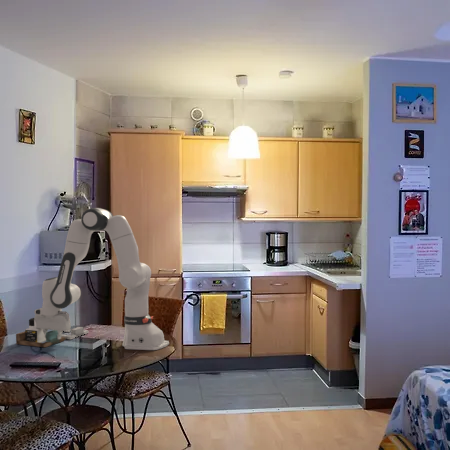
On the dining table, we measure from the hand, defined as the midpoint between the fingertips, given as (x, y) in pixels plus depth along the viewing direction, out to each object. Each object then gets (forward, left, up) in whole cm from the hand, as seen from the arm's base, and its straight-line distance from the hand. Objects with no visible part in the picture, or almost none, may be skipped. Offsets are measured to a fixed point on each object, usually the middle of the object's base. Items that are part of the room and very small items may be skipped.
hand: (52, 338), depth 232 cm
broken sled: (+6, -16, -2) cm, 17 cm away
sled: (+8, 0, -3) cm, 8 cm away
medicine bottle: (+11, 0, -3) cm, 11 cm away
